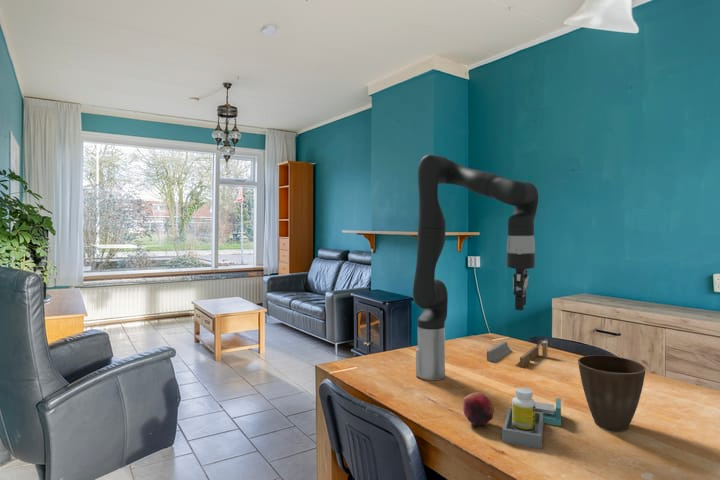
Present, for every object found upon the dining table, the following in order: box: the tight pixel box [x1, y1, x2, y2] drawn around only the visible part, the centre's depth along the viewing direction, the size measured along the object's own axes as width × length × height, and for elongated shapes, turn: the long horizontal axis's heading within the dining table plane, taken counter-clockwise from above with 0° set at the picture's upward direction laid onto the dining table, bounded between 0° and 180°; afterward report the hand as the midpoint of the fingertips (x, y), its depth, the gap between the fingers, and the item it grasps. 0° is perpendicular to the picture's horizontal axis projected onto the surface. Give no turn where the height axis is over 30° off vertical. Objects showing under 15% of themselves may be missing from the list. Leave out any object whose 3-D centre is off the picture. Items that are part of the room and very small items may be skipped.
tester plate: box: [535, 401, 555, 415], centre depth 116 cm, size 6×4×1 cm
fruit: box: [462, 391, 495, 427], centre depth 112 cm, size 8×8×8 cm
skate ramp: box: [486, 338, 549, 368], centre depth 165 cm, size 29×35×8 cm
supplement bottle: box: [511, 387, 536, 433], centre depth 107 cm, size 5×5×10 cm
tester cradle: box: [543, 397, 562, 427], centre depth 116 cm, size 9×7×4 cm
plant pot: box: [577, 354, 646, 432], centre depth 111 cm, size 15×15×16 cm
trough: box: [501, 407, 544, 450], centre depth 107 cm, size 9×14×3 cm, turn 155°
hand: (520, 307), depth 125 cm, fingers open, 8 cm apart
